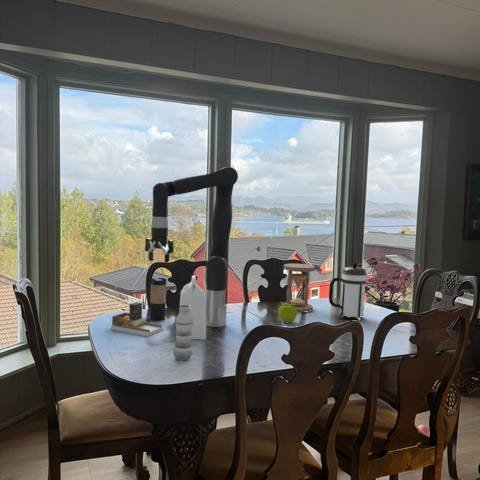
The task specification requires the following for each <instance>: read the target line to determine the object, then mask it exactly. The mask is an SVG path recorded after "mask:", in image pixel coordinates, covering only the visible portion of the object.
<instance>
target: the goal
mask: <svg viewBox="0 0 480 480" xmlns="http://www.w3.org/2000/svg"><path fill="white" fill-rule="evenodd" d="M124 316H129V312H122V313H118V314H115V315H112V318H111V319H112V320H111V322H112V323H111V326H112V325H115V326H120V327H121V325H123V317H124Z"/></svg>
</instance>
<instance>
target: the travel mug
mask: <svg viewBox="0 0 480 480" xmlns="http://www.w3.org/2000/svg"><path fill="white" fill-rule="evenodd" d="M149 291H150V295H149V297H150V298H149V320H150V321H152V322H162V321H163V322H164V321H165V319H166V306H167V278H164V277H158V278H154V277H153V278H151V279H150V290H149Z"/></svg>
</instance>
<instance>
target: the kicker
mask: <svg viewBox="0 0 480 480" xmlns="http://www.w3.org/2000/svg"><path fill="white" fill-rule="evenodd" d="M128 313H129V319H127V320H126V325H127V326H132V327H139V326H142V325H145V322H146V319H145V318H146V317H142V315H143V302H138V301H136V302H132V303H129V312H128Z"/></svg>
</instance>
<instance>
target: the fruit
mask: <svg viewBox="0 0 480 480" xmlns="http://www.w3.org/2000/svg"><path fill="white" fill-rule="evenodd" d="M286 303H287V302H282V301H280V302H279V304H281V305H280V306H279V308H278V317H279V319H280V320H281V321H282V322H283V321H284V323H285V322H291V323H292V322H294V321H295V320H296V319H297V315H298V313H297V309H296V308H295V306H294V305H297V304H291V305H290V304H286ZM282 304H284V305H282Z"/></svg>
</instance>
